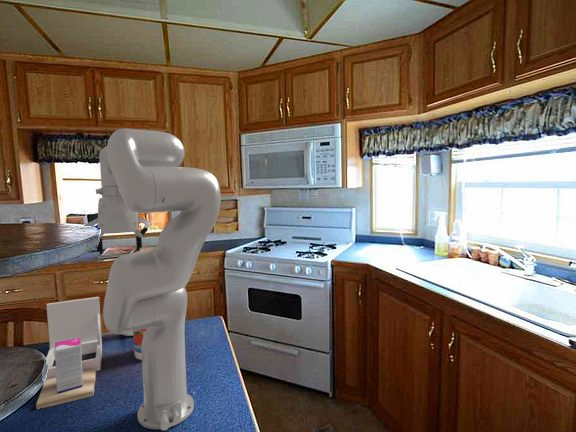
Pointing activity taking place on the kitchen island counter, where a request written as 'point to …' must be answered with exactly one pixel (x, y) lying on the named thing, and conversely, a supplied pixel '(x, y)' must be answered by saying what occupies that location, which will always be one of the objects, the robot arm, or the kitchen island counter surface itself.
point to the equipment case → (75, 330)
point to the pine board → (52, 398)
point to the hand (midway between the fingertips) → (120, 251)
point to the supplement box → (68, 365)
